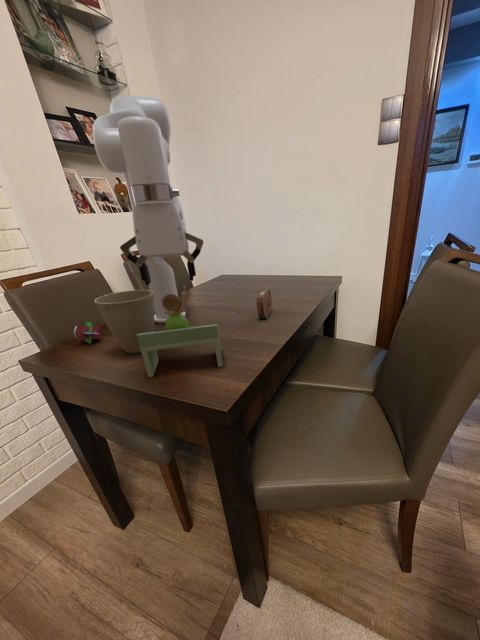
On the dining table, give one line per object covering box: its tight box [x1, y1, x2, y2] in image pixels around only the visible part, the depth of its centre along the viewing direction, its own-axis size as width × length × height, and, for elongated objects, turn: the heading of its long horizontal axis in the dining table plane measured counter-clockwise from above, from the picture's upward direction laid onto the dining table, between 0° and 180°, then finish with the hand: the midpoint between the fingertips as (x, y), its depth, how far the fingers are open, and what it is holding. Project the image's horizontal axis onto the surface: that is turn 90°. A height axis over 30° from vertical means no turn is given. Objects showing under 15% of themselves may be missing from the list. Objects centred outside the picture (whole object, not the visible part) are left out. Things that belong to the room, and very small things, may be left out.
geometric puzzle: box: [73, 320, 101, 345], centre depth 90 cm, size 7×7×8 cm
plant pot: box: [94, 289, 155, 354], centre depth 81 cm, size 15×15×16 cm
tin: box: [256, 289, 273, 319], centre depth 103 cm, size 15×3×8 cm, turn 168°
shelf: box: [137, 323, 224, 378], centre depth 70 cm, size 9×18×11 cm, turn 101°
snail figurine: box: [162, 285, 190, 330], centre depth 67 cm, size 5×6×12 cm
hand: (170, 281), depth 64 cm, fingers open, 9 cm apart
